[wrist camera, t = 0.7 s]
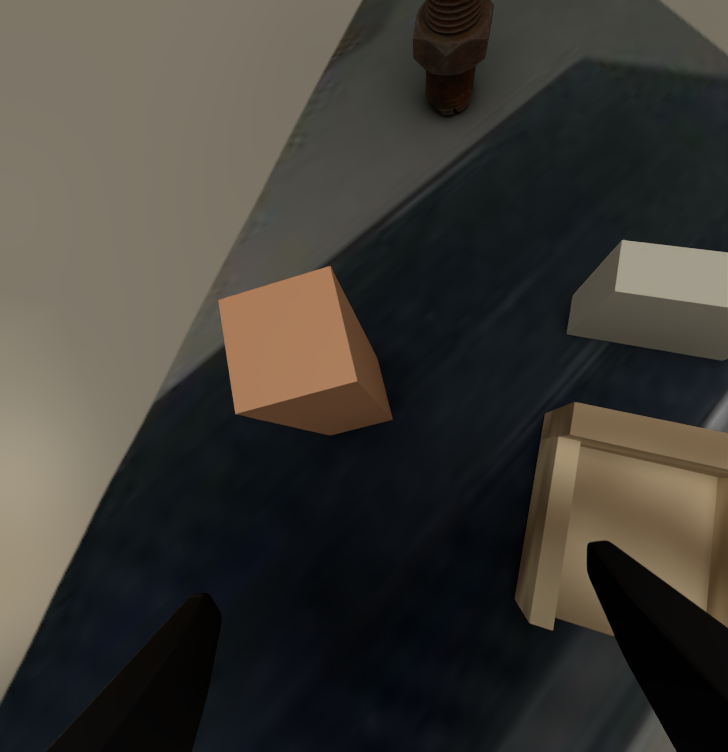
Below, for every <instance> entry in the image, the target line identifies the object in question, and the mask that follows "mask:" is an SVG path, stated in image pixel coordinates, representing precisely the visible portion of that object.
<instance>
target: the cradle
mask: <svg viewBox="0 0 728 752" xmlns="http://www.w3.org/2000/svg"><path fill="white" fill-rule="evenodd" d="M601 540H607V541H610V542H611V543H613V544H614V545H616V546H617V547H618V548H620V549H621V550H622V551H624V552H625V553H627V554H628V555H629V556H631V557H632V558H633V559H635V560H636V561H637V562H639V563H640V564H642V565H643V566H644V567H646V568H647V569H648V570H650V571H651V572H652V573H654V574H655V575H657V576H658V577H659V578H661V579H662V580H663V581H665V582H666V583H667V584H669V585H670V586H672V587H673V588H674V589H676V590H677V591H678V592H680V593H681V594H683V595H684V596H685V597H687V598H688V599H689V600H691V601H692V602H693V603H695V604H696V605H698V606H699V607H700V608H702V609H703V610H704V611H706V612H707V613H708V614H710V615H711V616H713V617H714V618H715V619H717V620H718V621H719V622H721V623H722V624H723V625H725V626H726V627H728V433H724V432H719V431H714V430H709V429H704V428H699V427H695V426H690V425H685V424H680V423H675V422H670V421H665V420H660V419H655V418H650V417H645V416H641V415H636V414H631V413H626V412H621V411H616V410H611V409H606V408H601V407H596V406H591V405H587V404H582V403H577V402H574V403H571V404H568V405H566V406H563V407H561V408H558V409H555V410H553V411H550V412H547V413H545V417H544V423H543V429H542V435H541V441H540V447H539V453H538V460H537V466H536V472H535V478H534V484H533V490H532V496H531V502H530V508H529V514H528V520H527V526H526V532H525V539H524V545H523V551H522V557H521V563H520V569H519V575H518V581H517V587H516V593H515V601H516V602H517V604H518V605H519V607H520V609H521V610H522V612H523V614H524V615H525V617H526V618H527V620H528V622H529V623H530V624H533V625H537V626H540V627H543V628H546V629H549V630H552V631H553V628H554V621H555V618H558V619H561V620H564V621H567V622H570V623H574V624H577V625H580V626H583V627H586V628H589V629H592V630H596V631H599V632H602V633H605V634H608V635H611V636H614V633H613V631H612V629H611V626H610V624H609V622H608V620H607V617H606V615H605V613H604V611H603V608H602V606H601V604H600V602H599V599H598V597H597V595H596V592H595V590H594V588H593V586H592V583H591V581H590V579H589V576H588V573H587V544H588V543H589V542H593V541H601Z"/></svg>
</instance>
